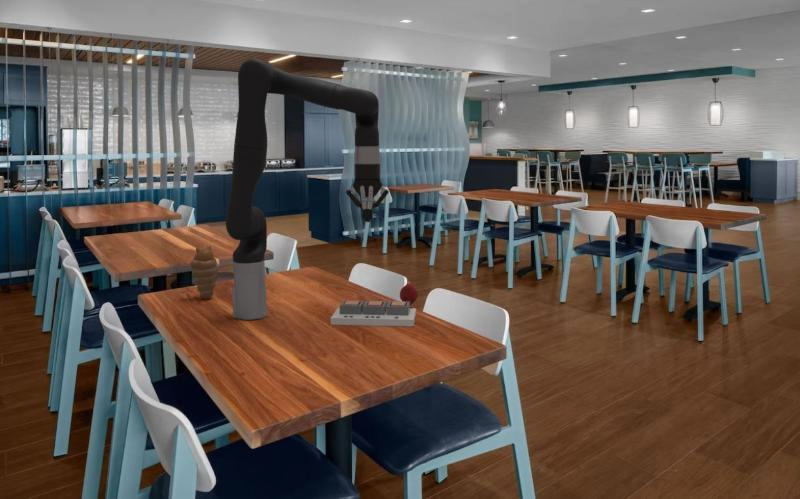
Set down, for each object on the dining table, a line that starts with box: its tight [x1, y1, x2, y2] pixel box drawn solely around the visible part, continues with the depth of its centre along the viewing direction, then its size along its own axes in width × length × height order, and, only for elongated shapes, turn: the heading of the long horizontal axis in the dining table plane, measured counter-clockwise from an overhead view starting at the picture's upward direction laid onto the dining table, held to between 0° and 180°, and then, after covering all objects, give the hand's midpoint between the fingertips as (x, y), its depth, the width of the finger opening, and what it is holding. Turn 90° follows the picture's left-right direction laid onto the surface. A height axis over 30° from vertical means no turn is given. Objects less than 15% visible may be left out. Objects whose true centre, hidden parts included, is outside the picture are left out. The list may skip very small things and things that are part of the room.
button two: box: [344, 300, 361, 306], centre depth 181 cm, size 4×4×2 cm
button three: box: [368, 300, 384, 306], centre depth 180 cm, size 4×4×2 cm
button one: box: [391, 302, 406, 306], centre depth 180 cm, size 4×4×2 cm
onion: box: [399, 281, 419, 306], centre depth 194 cm, size 6×6×8 cm
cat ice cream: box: [190, 245, 219, 300], centre depth 203 cm, size 9×8×18 cm
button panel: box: [330, 299, 417, 327], centre depth 179 cm, size 24×12×4 cm, turn 85°
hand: (368, 221), depth 177 cm, fingers closed
